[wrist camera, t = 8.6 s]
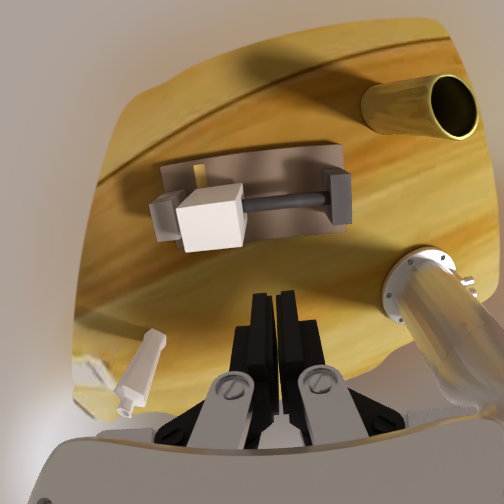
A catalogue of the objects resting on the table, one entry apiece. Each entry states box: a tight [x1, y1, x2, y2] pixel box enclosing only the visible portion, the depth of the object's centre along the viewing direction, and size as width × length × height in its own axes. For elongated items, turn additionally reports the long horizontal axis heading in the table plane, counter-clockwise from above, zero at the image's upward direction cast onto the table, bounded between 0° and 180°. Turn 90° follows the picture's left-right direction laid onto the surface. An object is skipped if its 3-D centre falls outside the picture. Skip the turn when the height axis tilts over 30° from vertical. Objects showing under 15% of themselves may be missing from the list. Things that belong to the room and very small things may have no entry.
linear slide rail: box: [149, 144, 352, 249], centre depth 30 cm, size 20×10×6 cm, turn 98°
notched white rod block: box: [176, 183, 247, 252], centre depth 27 cm, size 5×4×8 cm
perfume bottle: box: [114, 328, 166, 418], centre depth 36 cm, size 5×4×15 cm
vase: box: [361, 72, 479, 141], centre depth 21 cm, size 6×6×14 cm
